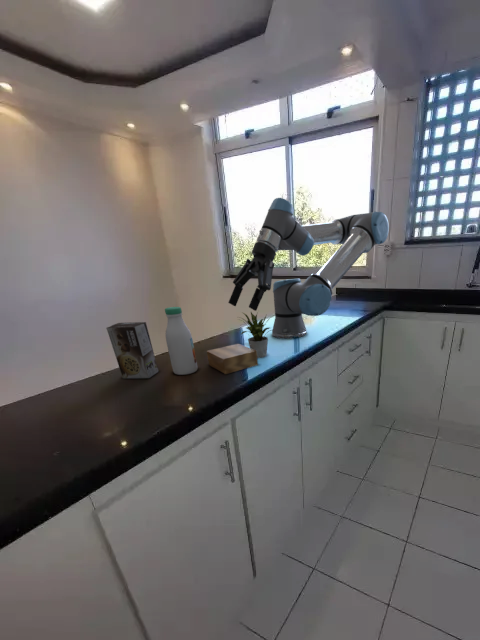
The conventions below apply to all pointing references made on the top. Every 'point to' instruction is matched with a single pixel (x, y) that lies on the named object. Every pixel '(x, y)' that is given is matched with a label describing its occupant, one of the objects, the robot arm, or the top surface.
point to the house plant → (257, 335)
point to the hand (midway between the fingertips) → (241, 306)
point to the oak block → (232, 358)
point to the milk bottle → (180, 343)
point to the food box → (133, 349)
